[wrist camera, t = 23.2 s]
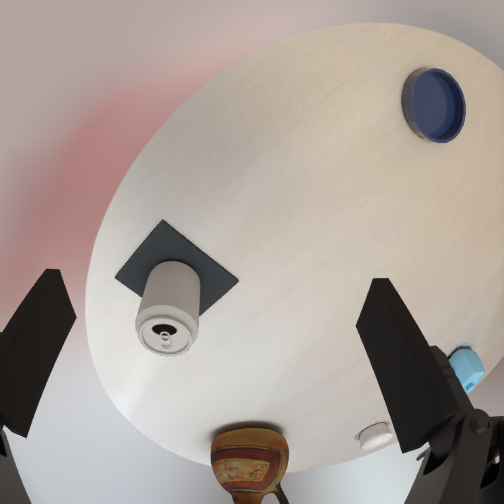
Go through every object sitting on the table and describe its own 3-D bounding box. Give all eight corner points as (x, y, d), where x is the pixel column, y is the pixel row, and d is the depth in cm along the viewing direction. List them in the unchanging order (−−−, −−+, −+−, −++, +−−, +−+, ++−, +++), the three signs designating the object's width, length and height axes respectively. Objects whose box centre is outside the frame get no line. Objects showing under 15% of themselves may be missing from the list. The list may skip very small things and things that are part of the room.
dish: (388, 93, 32) (398, 94, 30) (432, 56, 30) (442, 55, 27) (425, 153, 37) (435, 157, 35) (464, 114, 34) (474, 117, 32)
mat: (115, 275, 41) (114, 278, 41) (162, 219, 38) (161, 221, 37) (187, 324, 47) (187, 327, 46) (238, 279, 44) (238, 281, 43)
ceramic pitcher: (213, 417, 62) (222, 534, 36) (294, 417, 66) (320, 523, 40) (206, 448, 71) (212, 540, 45) (273, 448, 75) (290, 534, 49)
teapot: (448, 343, 61) (470, 374, 51) (477, 346, 66) (496, 372, 56) (420, 376, 66) (437, 407, 56) (452, 375, 71) (468, 401, 61)
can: (200, 258, 41) (196, 315, 30) (201, 301, 44) (199, 362, 34) (146, 257, 40) (126, 313, 29) (152, 300, 43) (138, 360, 33)
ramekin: (392, 423, 79) (398, 435, 75) (366, 439, 82) (370, 451, 78) (379, 418, 75) (385, 431, 70) (350, 435, 78) (355, 448, 73)
